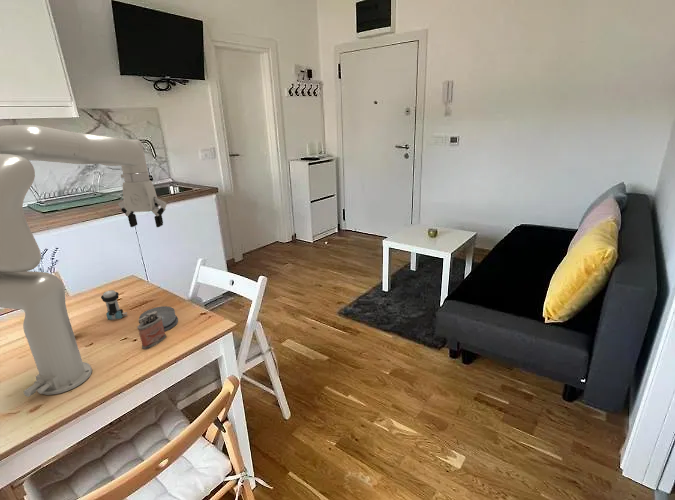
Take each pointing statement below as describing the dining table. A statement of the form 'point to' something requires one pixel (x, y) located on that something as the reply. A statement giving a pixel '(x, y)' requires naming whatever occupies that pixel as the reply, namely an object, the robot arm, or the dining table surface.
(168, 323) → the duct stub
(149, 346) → the lighter
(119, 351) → the dining table surface
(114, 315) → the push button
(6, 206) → the robot arm
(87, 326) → the dining table surface
